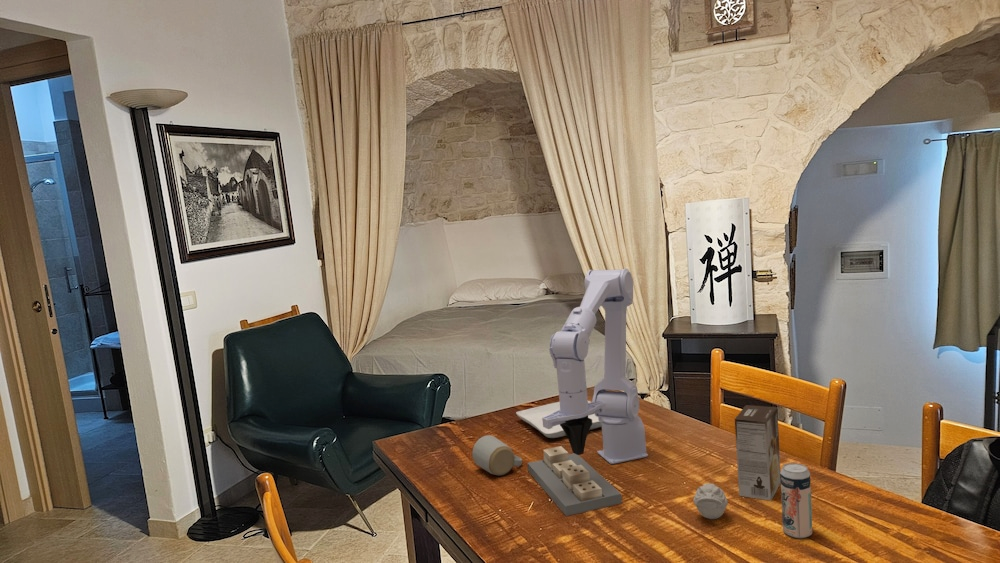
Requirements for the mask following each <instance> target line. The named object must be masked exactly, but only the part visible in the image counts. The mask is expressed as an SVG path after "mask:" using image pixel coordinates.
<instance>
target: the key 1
mask: <svg viewBox="0 0 1000 563" xmlns="http://www.w3.org/2000/svg"><path fill="white" fill-rule="evenodd" d="M542 451H543V460H544V463H545V464H546V465H547V466H548V467H549V469H552V468H553V464H554V463H559V462H563V461H568V460H569V457H568V455H569V452H568V451H567V450H566V449H565V448H564V447H563V446H562V445H561V446H555V447H549V448H546V449H543V450H542Z"/></svg>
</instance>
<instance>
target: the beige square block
mask: <svg viewBox="0 0 1000 563" xmlns="http://www.w3.org/2000/svg"><path fill="white" fill-rule="evenodd" d="M573 492H574V495H575V496H576V497H577V499H578V500H579V501H580V502H582V501H587V500H591V499H596V498H600V497H602V488H600V487H599V486H598V485H597V484H596V483H595V482H594V481H593V480H592V481H587V482H583V483H578V484H573Z"/></svg>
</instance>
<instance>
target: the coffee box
mask: <svg viewBox="0 0 1000 563" xmlns="http://www.w3.org/2000/svg"><path fill="white" fill-rule="evenodd" d="M778 416H779V414H778V407H776V406H763V405H751V404H749V405H744V406H743V408H742V409H741V411H740V412H739V413H738V414H737V416H736V417H735V418H734V429H735V443H736V444H735V446H736V462H737V466H736V467H737V479H738V480H737V481H738V482H737V483H738V496H740V497H744V498H750V499H751V498H752V499H759V500H764V501H770V502H771V501H772V500H773V498H775V495H776V493H777V491H778V488H779V487H780V486H781V478H780V471H781V458H780V457H781V456H780V439H779V435H780V433H779V418H778Z"/></svg>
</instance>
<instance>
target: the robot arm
mask: <svg viewBox="0 0 1000 563" xmlns="http://www.w3.org/2000/svg"><path fill="white" fill-rule="evenodd" d="M584 288H585V289H584V290H585V293H584V295H583V298H582V300H581V302H580V305H579V306H577V307H574V308H573V309H572V310H571V312H570V313H569V315H568V317H567V319H566V320H565V323H564V324H563V326H562V328H561V329H560V330H559V331H556V332H555V333H553V334H552V335H551V337H550V339H549V348H548V350H549V354H550V357H551V359H552V362H553V366H554V368H555V369H556V376H557V377H556V379H557V387H558V388H557V389H558V398H559V400H558V401H559V402H560V410H558V411H556V412H554V413H552V414H550V415H548V416H546V417H543V418H542V420H543V427H545V428H547V429H551V428H552V427H553V426H556V425H559V424H560V426H561V427H562V429H563V430H564V432H565V434H566V436H565V437H567V440H568V443H569V444H570V449H571V451H572V454H574V453H575V454H577V455H579V456H580V455H583V454H584V453H585V447H586V441H587V438H588V434H589V432H590V427H591V426H592V419H590V418H588V416H589V415H592V414H595V416H597V417H598V420H599V421H601V424H602V427H601V434H602V446H603V447H602V448H603V449H600V450H597V452H596V453H597V454H598V455H599V456H601V457H602V458H603V459H604V460H605V461H607V462H608V463H609V464H610V465H614V464H619V463H623V462H630V461H633V460H637V459H642V458H643V459H644V458H647V457H648V456H649V454H648V453H647V445H646V431H645V424H644V423H643V420H642V418H641V417H640V416H639V411H640V400H639V394H638V393H639V392H638V386H636V384H634V383H633V381H630V379H628V378H627V375H626V374H627V373H626V372H627V371H626V370H627V369H626V366H627V365H626V363H627V360H626V359H627V311H628V309H627V308H628V307H629V306H631V305H632V304H634V303H633V299H634V278H633V276H632V273H631V271H630V270H629V269H628V268H622V269H589V270H587V272H586V274H585V277H584ZM600 307H602V308H603V309H604V311H605V312H604V314H605V315H604V368H603V369H604V378H602V379H601V380H600V381H597V383H596V384H595V385H594V388H593V395H592V401H591V402H592V403H588V401H589V400H588V387H587V377H586V376H587V374H586V364H585V359H586V357H587V356H588V354H589V353H588V352H589V345H590V336H591V335H592V333H593V330H594V328H595V327H596V325H597V316H596V314H597V312H598V310H599V309H600Z"/></svg>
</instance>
